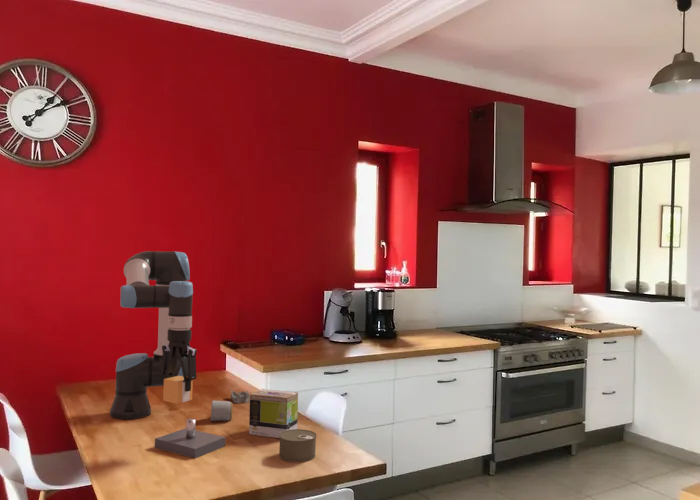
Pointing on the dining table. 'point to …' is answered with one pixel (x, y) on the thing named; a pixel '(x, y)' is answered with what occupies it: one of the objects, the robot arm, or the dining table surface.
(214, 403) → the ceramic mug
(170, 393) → the orange toy cube
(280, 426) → the tea box
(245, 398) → the egg carton
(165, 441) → the dark gray slab
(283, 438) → the can
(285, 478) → the dining table surface
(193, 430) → the post
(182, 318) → the robot arm
